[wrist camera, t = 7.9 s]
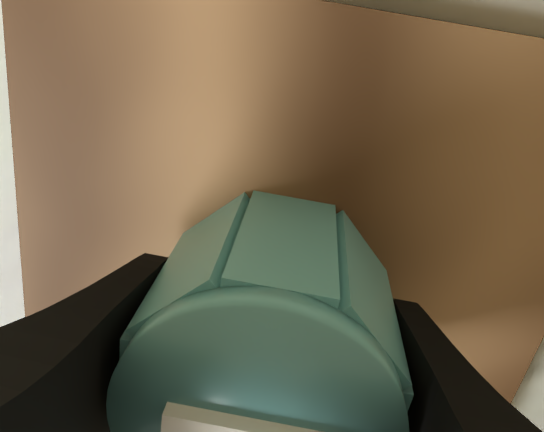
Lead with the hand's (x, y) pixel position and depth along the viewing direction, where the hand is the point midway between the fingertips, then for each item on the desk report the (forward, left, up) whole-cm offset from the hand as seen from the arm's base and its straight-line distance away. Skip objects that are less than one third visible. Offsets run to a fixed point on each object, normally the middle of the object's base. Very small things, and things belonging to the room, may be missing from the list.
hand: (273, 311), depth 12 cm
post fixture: (0, 0, -2) cm, 2 cm away
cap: (0, 0, -1) cm, 1 cm away
